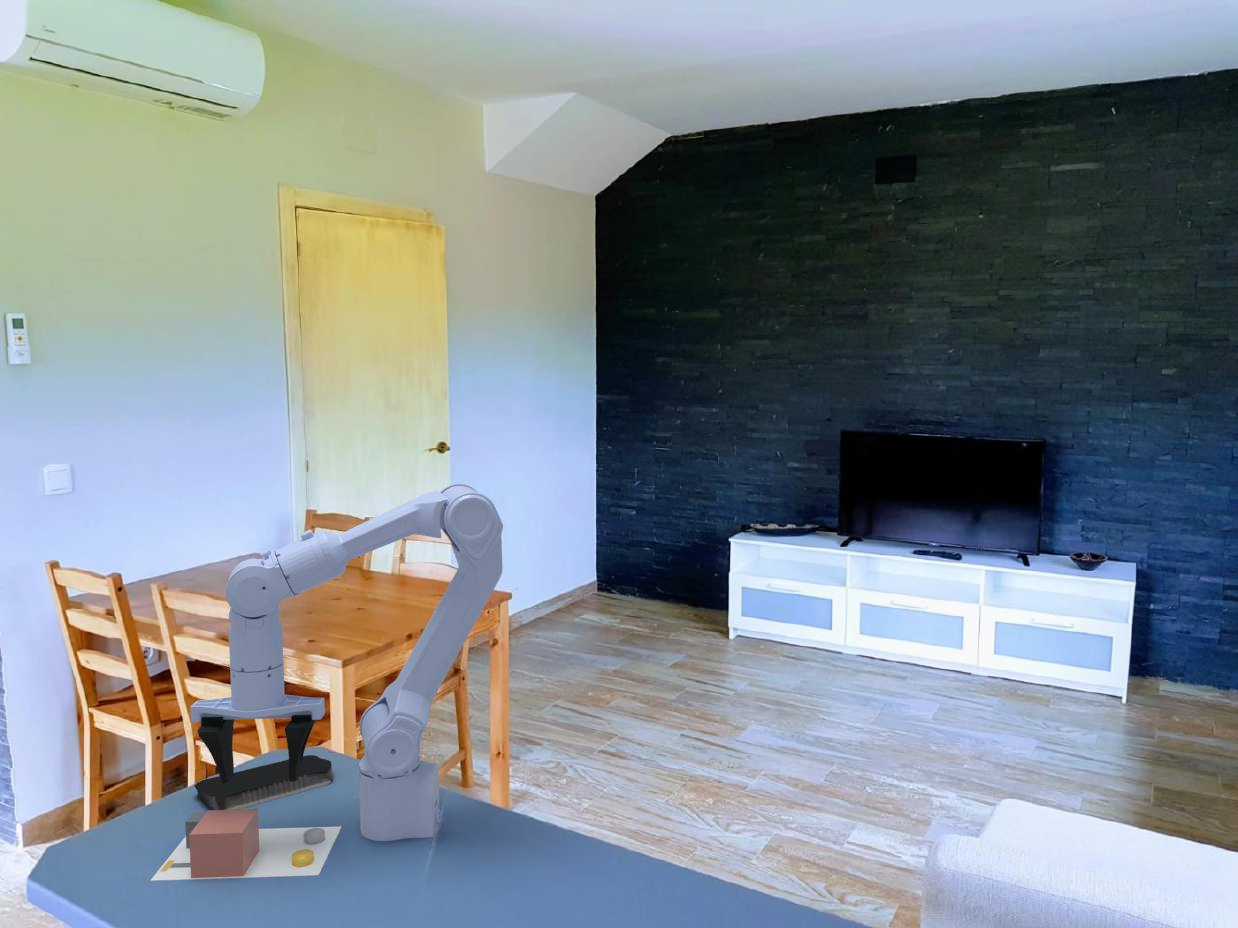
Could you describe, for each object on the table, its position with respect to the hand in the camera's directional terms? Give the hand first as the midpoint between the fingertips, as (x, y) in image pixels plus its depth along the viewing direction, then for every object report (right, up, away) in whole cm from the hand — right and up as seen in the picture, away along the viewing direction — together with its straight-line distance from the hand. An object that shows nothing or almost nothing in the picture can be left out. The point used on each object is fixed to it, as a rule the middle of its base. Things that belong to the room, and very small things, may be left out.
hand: (261, 778), depth 107 cm
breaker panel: (-1, -10, 0) cm, 10 cm away
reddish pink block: (-3, -9, -3) cm, 9 cm away
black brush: (-5, -8, +16) cm, 19 cm away
